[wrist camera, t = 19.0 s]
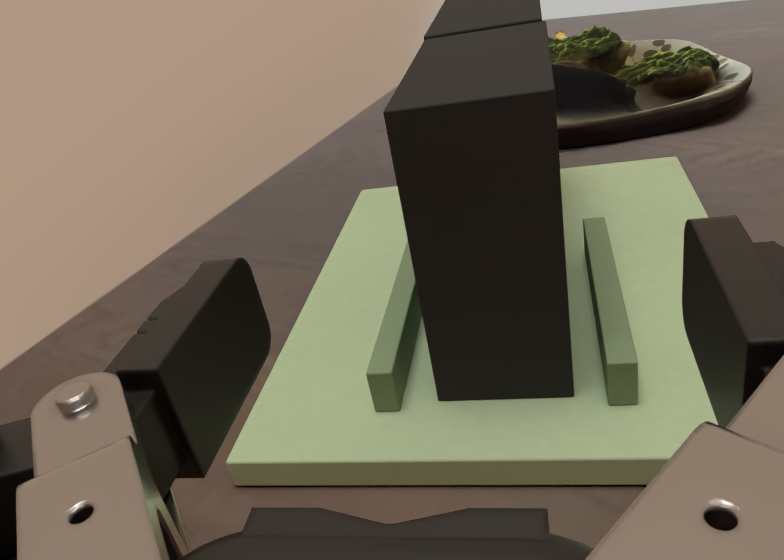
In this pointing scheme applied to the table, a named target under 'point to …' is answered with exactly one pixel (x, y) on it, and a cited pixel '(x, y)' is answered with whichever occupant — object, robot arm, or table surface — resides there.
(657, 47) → the salad plate
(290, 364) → the dock mat
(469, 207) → the tall dark upright box
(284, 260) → the table surface
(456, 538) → the robot arm
